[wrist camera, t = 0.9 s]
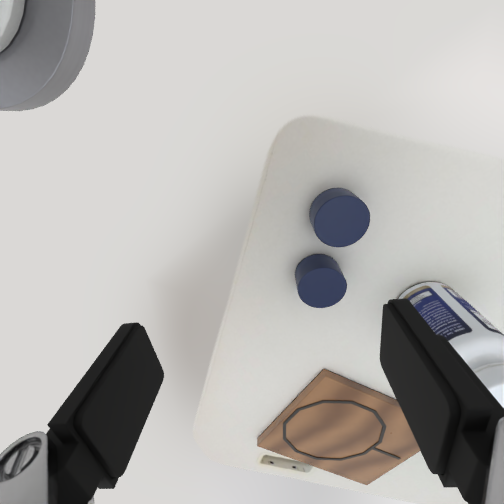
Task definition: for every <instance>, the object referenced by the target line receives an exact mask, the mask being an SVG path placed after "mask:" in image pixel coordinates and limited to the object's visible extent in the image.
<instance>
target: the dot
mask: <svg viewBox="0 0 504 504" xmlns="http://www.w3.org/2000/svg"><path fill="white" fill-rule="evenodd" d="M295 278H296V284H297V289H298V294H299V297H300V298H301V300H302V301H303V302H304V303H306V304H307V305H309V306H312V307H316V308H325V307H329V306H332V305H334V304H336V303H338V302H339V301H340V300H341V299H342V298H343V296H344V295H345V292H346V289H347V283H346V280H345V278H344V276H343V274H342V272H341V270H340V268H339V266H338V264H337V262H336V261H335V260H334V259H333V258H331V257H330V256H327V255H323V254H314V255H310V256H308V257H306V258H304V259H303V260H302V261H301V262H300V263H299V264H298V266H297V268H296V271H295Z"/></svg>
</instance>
